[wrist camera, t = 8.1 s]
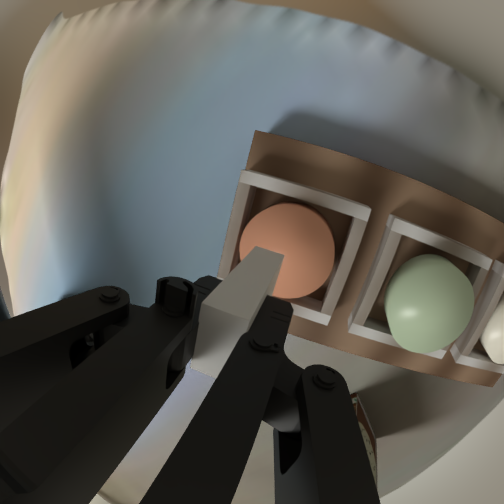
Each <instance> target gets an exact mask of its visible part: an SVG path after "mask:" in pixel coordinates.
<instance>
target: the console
mask: <svg viewBox="0 0 504 504" xmlns="http://www.w3.org/2000/svg"><path fill="white" fill-rule="evenodd" d="M286 201H295V202H301V203H304V204H307V205H309V206H311V207H313V208H315V209H316V210H318V211H319V212H320V213H321V214H322V215H323V216H324V217H325V218H326V220H327V221H328V223H329V224H330V226H331V229H332V231H333V235H334V241H335V256H334V264H333V267H332V270H331V273H330V275H329V276H328V278H327V280H326V281H325V282H324V283H323V285H321V286H320V287H319V288H318V289H317V290H315V291H314V292H312V293H310V294H308V295H306V296H303V297H299V298H280V297H276V296H272V297H275V298H278V299H281V300H284V301H287V302H290V303H291V305H292V307H293V309H294V311H293V315H292V319H291V322H290V326H289V329H288V333H289V334H292V335H295V336H298V337H301V338H304V339H307V340H310V341H313V342H316V343H319V344H322V345H325V346H328V347H332V348H335V349H338V350H341V351H345V352H348V353H351V354H355V355H358V356H362V357H365V358H369V359H372V360H376V361H379V362H383V363H387V364H390V365H394V366H398V367H402V368H406V369H410V370H414V371H418V372H422V373H426V374H430V375H435V376H439V377H444V378H448V379H453V380H457V381H462V382H467V383H472V384H477V385H483V386H488V387H493V386H494V384H495V383H496V382H497V380H498V379H499V378H500V376H501V375H502V374H504V364H497V363H495V362H493V361H492V360H491V358H490V357H489V355H488V353H487V352H486V350H485V349H484V347H483V345H482V344H481V342H480V340H479V337H480V335H481V334H482V332H483V330H484V328H485V327H486V325H487V323H488V321H489V319H490V317H491V316H492V314H493V312H494V310H495V308H496V306H497V304H498V302H499V300H500V297H501V295H502V293H503V291H504V223H502V222H500V221H499V220H497V219H495V218H493V217H492V216H490V215H488V214H486V213H484V212H482V211H480V210H479V209H477V208H475V207H473V206H471V205H469V204H467V203H465V202H463V201H461V200H459V199H457V198H455V197H453V196H451V195H448V194H446V193H444V192H442V191H440V190H438V189H435V188H433V187H431V186H428V185H426V184H424V183H422V182H419V181H417V180H414V179H412V178H410V177H407V176H405V175H402V174H400V173H397V172H394V171H392V170H389V169H386V168H384V167H381V166H378V165H376V164H373V163H370V162H367V161H364V160H361V159H358V158H355V157H352V156H349V155H346V154H343V153H340V152H337V151H333V150H330V149H327V148H323V147H320V146H317V145H313V144H309V143H306V142H302V141H298V140H295V139H291V138H287V137H283V136H279V135H274V134H270V133H266V132H261V131H257V130H255V133H254V137H253V141H252V145H251V149H250V153H249V157H248V161H247V165H246V169H245V170H241V174H240V178H239V182H238V186H237V190H236V195H235V199H234V203H233V208H232V212H231V216H230V221H229V225H228V229H227V234H226V238H225V243H224V247H223V252H222V256H221V261H220V266H219V270H218V275H217V278H218V279H220V280H224V279H225V278H226V277H227V276H228V275H229V273H230V272H231V271H232V270H233V269H234V268H235V267H236V266H237V265H238V264H239V263H240V262H241V259H240V252H239V249H240V240H241V237H242V233H243V231H244V229H245V227H246V226H247V224H248V223H249V222H250V221H251V219H252V218H254V217H255V216H256V215H257V214H259V213H260V212H262V211H263V210H265V209H267V208H269V207H270V206H272V205H275V204H277V203H280V202H286ZM424 254H435V255H439V256H442V257H444V258H446V259H448V260H449V261H450V262H451V263H453V264H454V265H455V266H456V267H457V268H458V269H459V270H460V271H461V272H462V273H463V274H464V275H465V276H466V277H467V278H468V280H469V281H470V283H471V285H472V288H473V291H474V309H473V313H472V316H471V319H470V321H469V323H468V325H467V326H466V328H465V330H464V331H463V332H462V333H461V335H460V336H459V337H458V338H457V339H456V340H454V341H453V342H452V343H451V344H449V345H448V346H446V347H444V348H442V349H440V350H437V351H434V352H429V353H415V352H411V351H408V350H406V349H404V348H403V347H401V346H400V345H399V344H398V343H397V342H396V341H395V339H394V338H393V335H392V333H391V330H390V327H389V323H388V320H387V316H386V313H385V308H384V294H385V290H386V287H387V284H388V282H389V280H390V278H391V277H392V275H393V274H394V273H395V271H396V270H397V269H398V268H399V267H400V266H401V265H402V264H404V263H405V262H406V261H408V260H410V259H411V258H414V257H416V256H419V255H424Z"/></svg>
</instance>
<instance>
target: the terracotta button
mask: <svg viewBox="0 0 504 504" xmlns="http://www.w3.org/2000/svg"><path fill="white" fill-rule="evenodd" d="M255 246H258V247H261V248H264V249H267V250H270V251H273V252H277V253H280V254H283V255H284V259H283V262H282V265H281V269H280V272H279V275H278V278H277V281H276V285H275V288H274V291H273V294H272V296H276V297H280V298H299V297H303V296H306V295H308V294H310V293H312V292H314V291H315V290H317V289H318V288H319V287H320V286H321V285H323V283H324V282H325V281H326V280H327V278H328V276H329V275H330V273H331V270H332V267H333V264H334V256H335V241H334V235H333V231H332V229H331V226H330V224H329V223H328V221H327V220H326V218H325V217H324V216H323V215H322V214H321V213H320V212H319V211H318V210H316V209H315V208H313V207H311V206H309V205H307V204H304V203H301V202H295V201H286V202H280V203H277V204H275V205H272V206H270V207H269V208H267V209H265V210H263V211H262V212H260V213H259V214H257V215H256V216H255V217H254V218H252V219H251V221H250V222H249V223H248V224H247V226H246V227H245V229H244V231H243V233H242V237H241V240H240V249H239V252H240V259H241V261H242V260H243V259H244V258H245V257H246V256H247V255H248V254H249V253H250V251H251V250H252V249H253V248H254V247H255Z"/></svg>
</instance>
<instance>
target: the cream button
mask: <svg viewBox="0 0 504 504" xmlns="http://www.w3.org/2000/svg"><path fill="white" fill-rule="evenodd" d="M479 340H480V342H481V344H482V345H483V347H484V349H485V350H486V352H487V353H488V355H489V357H490V358H491V360H492V361H493V362H495V363H497V364H504V291H503V293H502V295H501V297H500V300H499V302H498V304H497V306H496V308H495V310H494V312H493V314H492V316H491V317H490V319H489V321H488V323H487V325H486V327H485V328H484V330H483V332H482V334H481V335H480V337H479Z"/></svg>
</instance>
